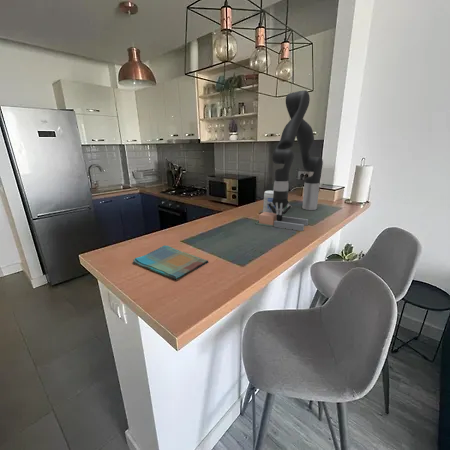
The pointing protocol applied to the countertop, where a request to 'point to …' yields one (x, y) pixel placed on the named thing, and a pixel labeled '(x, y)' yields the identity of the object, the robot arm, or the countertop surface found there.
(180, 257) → the dish towel
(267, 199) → the supplement tub
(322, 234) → the countertop surface
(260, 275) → the countertop surface
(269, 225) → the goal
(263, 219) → the block
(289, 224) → the chute
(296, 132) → the robot arm
